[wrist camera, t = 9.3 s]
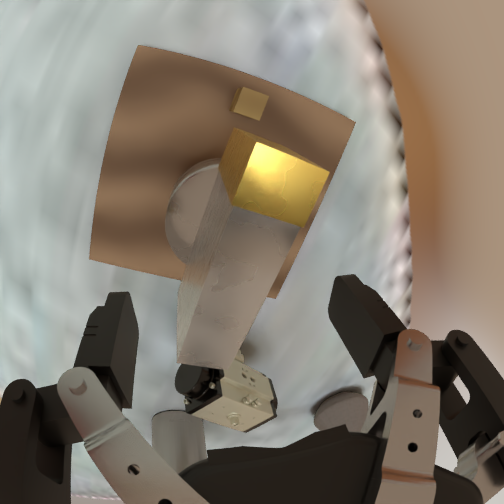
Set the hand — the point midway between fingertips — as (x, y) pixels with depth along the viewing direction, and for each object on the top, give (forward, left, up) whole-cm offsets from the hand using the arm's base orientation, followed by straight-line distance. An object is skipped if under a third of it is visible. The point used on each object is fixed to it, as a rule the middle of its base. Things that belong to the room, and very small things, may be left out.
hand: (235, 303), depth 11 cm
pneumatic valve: (-19, -7, -17) cm, 27 cm away
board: (0, 0, -17) cm, 17 cm away
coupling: (0, 0, -10) cm, 10 cm away
